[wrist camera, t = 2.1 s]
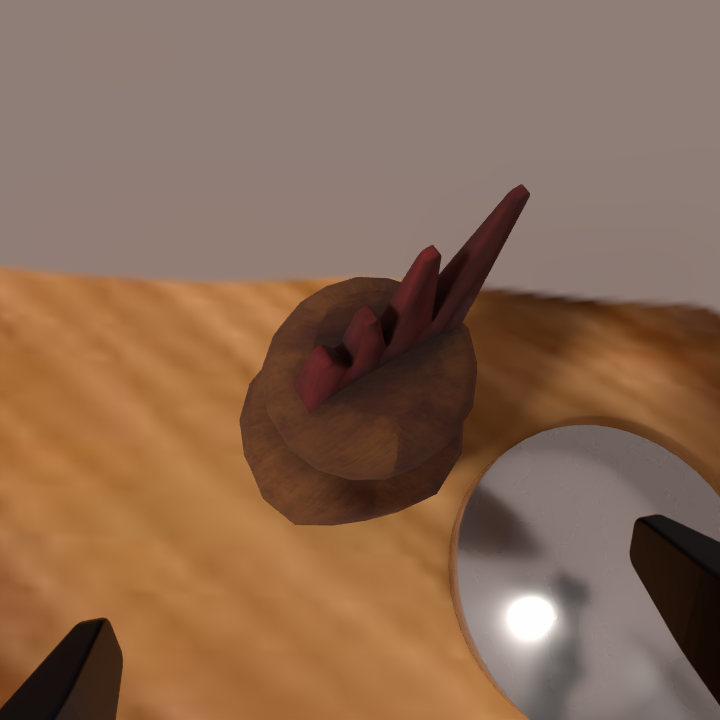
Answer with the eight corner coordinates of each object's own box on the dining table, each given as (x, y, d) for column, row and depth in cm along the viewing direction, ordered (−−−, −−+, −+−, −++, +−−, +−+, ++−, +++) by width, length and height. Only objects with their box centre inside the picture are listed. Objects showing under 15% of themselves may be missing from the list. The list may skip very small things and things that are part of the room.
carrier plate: (764, 755, 18) (800, 771, 17) (449, 739, 18) (459, 754, 16) (704, 442, 22) (729, 434, 21) (447, 424, 22) (455, 415, 20)
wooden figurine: (405, 374, 23) (572, 72, 9) (438, 510, 21) (724, 402, 7) (247, 399, 21) (146, 98, 7) (267, 545, 19) (180, 506, 6)
